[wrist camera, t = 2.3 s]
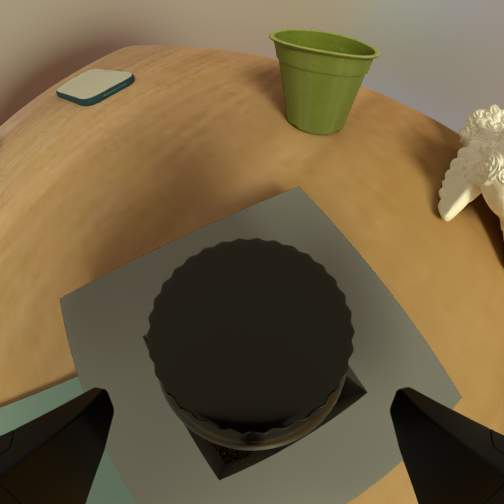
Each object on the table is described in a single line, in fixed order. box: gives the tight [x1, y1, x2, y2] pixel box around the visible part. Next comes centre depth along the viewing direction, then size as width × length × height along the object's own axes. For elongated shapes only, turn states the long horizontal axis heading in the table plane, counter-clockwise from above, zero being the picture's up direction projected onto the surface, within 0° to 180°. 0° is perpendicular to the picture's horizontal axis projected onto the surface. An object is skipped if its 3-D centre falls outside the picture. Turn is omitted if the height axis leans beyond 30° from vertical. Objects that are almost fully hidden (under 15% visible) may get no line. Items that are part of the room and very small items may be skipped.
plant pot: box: [269, 29, 380, 135], centre depth 27 cm, size 12×12×11 cm
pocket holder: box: [60, 186, 462, 504], centre depth 14 cm, size 18×18×4 cm
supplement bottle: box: [147, 238, 355, 451], centre depth 11 cm, size 7×7×12 cm
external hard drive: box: [56, 69, 134, 106], centre depth 42 cm, size 24×12×2 cm, turn 52°
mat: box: [0, 376, 138, 504], centre depth 11 cm, size 12×12×1 cm
